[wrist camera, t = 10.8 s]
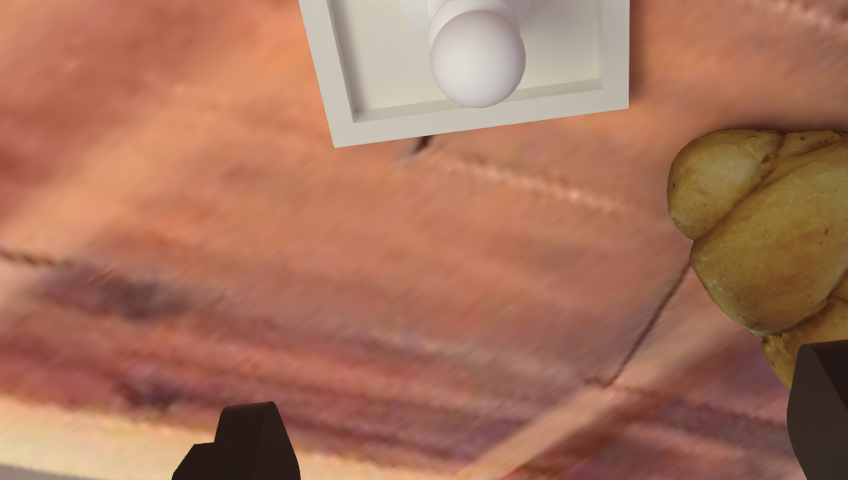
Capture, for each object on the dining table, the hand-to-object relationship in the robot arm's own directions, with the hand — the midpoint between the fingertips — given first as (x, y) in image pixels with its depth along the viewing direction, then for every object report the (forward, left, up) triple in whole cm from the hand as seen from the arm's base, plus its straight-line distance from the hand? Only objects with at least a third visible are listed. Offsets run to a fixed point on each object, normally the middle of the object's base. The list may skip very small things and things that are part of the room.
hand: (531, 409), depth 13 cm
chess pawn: (0, 0, -22) cm, 22 cm away
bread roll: (-13, +13, -22) cm, 29 cm away
